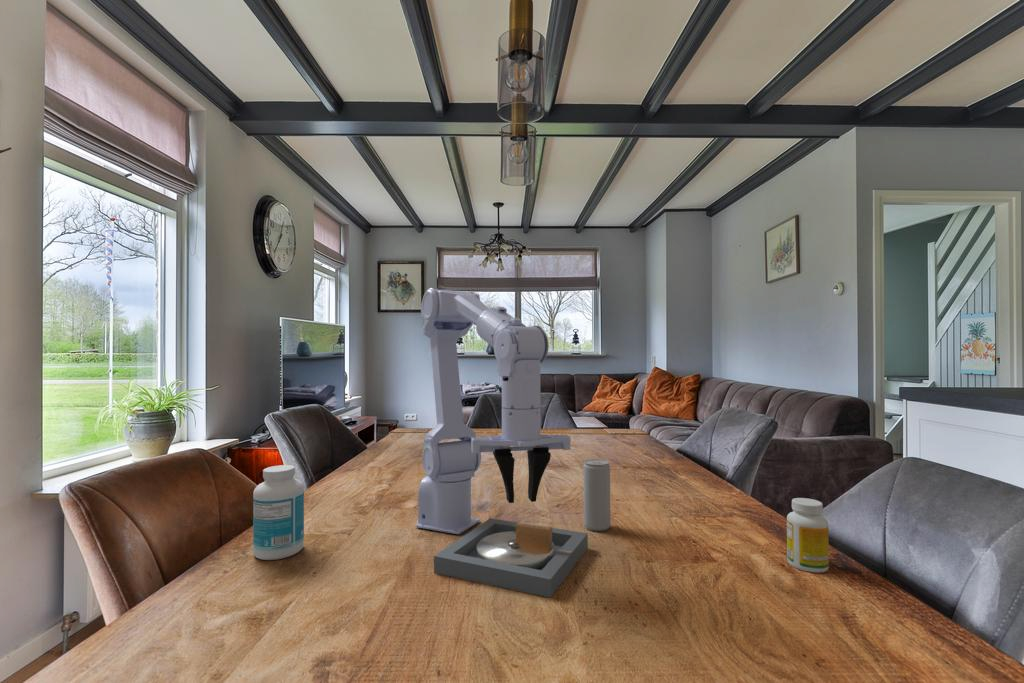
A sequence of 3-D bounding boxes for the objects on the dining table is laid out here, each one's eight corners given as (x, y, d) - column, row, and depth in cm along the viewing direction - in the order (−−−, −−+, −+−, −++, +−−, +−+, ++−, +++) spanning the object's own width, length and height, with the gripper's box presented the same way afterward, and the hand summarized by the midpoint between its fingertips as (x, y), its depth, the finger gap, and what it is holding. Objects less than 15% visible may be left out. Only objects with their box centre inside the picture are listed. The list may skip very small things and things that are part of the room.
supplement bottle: (779, 562, 74) (778, 499, 74) (801, 555, 76) (800, 494, 77) (814, 576, 69) (813, 508, 69) (837, 569, 71) (836, 503, 72)
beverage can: (610, 533, 86) (609, 465, 86) (583, 531, 87) (582, 464, 87) (610, 524, 91) (609, 459, 91) (584, 522, 92) (584, 458, 92)
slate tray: (433, 572, 70) (434, 553, 71) (489, 531, 87) (489, 516, 87) (550, 597, 63) (550, 576, 63) (587, 548, 79) (587, 531, 80)
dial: (462, 562, 72) (462, 528, 72) (497, 535, 83) (497, 506, 83) (537, 577, 67) (537, 541, 67) (564, 546, 78) (564, 515, 78)
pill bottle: (282, 540, 83) (283, 461, 83) (313, 548, 80) (314, 465, 80) (241, 556, 76) (243, 470, 77) (273, 565, 73) (275, 475, 73)
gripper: (475, 411, 66) (474, 512, 66) (576, 409, 69) (577, 505, 68) (469, 406, 73) (469, 497, 73) (562, 404, 76) (562, 491, 75)
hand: (521, 500), depth 71 cm, fingers open, 3 cm apart
